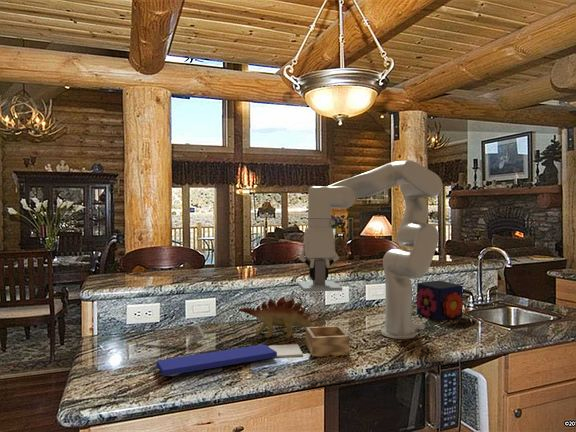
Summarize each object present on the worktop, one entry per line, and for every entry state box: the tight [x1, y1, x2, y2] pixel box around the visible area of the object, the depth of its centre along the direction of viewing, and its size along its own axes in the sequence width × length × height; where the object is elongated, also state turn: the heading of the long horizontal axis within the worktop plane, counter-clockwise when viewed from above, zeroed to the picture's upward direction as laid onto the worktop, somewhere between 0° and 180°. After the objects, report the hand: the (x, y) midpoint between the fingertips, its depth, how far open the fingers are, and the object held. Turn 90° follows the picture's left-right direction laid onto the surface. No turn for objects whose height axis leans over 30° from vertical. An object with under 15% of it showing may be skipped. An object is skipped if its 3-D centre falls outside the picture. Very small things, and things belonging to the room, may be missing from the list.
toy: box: [239, 297, 327, 339], centre depth 162 cm, size 9×32×15 cm, turn 79°
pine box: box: [305, 325, 350, 358], centre depth 146 cm, size 12×12×6 cm
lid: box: [296, 259, 343, 292], centre depth 145 cm, size 12×12×9 cm
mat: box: [267, 343, 304, 359], centre depth 144 cm, size 10×10×1 cm
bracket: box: [135, 323, 205, 346], centre depth 152 cm, size 3×21×10 cm, turn 94°
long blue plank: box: [156, 343, 278, 377], centre depth 133 cm, size 34×3×10 cm
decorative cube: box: [415, 280, 464, 321], centre depth 189 cm, size 16×16×14 cm
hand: (318, 279), depth 145 cm, fingers closed on lid, 3 cm apart
